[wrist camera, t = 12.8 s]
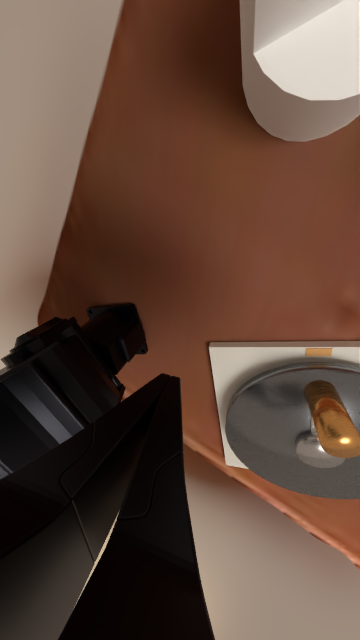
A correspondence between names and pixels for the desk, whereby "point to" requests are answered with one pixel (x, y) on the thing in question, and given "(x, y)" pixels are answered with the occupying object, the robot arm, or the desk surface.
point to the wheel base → (266, 367)
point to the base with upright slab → (301, 65)
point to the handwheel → (300, 428)
